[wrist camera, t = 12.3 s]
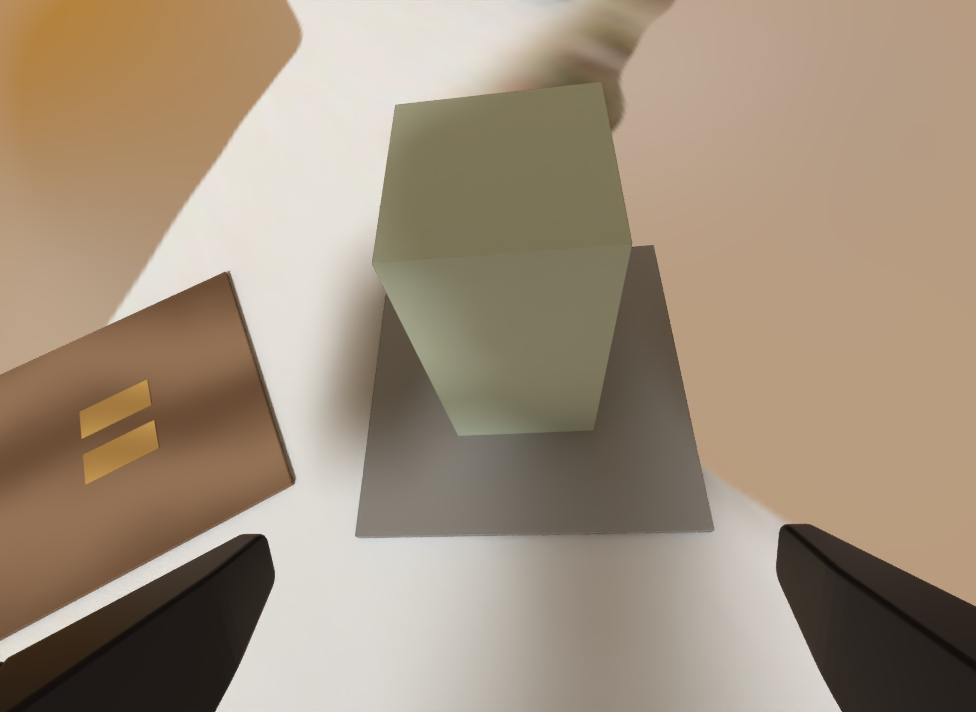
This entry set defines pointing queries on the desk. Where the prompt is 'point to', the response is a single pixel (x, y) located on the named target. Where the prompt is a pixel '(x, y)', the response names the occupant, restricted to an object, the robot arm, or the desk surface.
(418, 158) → the sage block
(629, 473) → the slate mat
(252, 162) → the desk surface
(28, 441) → the plate
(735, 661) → the desk surface
